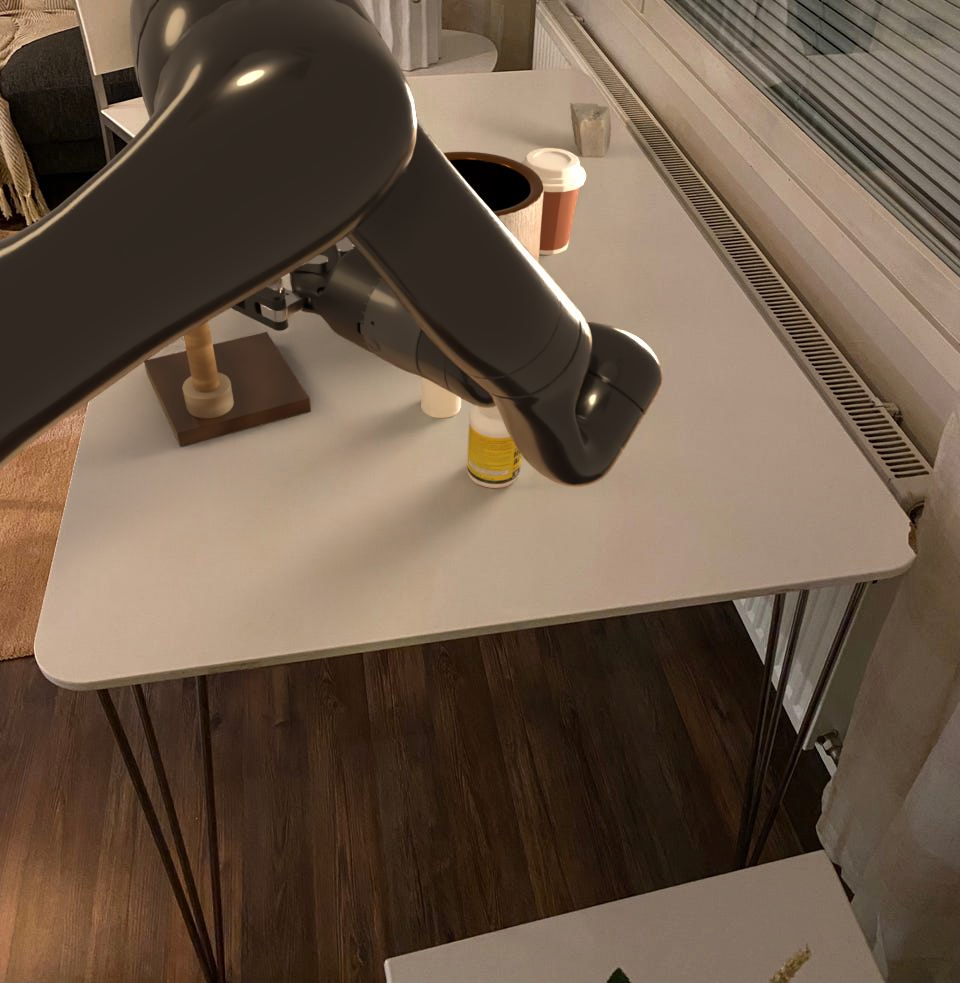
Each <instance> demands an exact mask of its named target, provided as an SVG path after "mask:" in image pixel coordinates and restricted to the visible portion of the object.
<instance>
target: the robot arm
mask: <svg viewBox="0 0 960 983" xmlns="http://www.w3.org/2000/svg"><path fill="white" fill-rule="evenodd" d="M128 32H129V33H128V34H129V35H128V36H129V44H130V45H129V46H130V50H131V56H132V63H133V67H134V74H135V78H136V81H137V85H138V88H139V90H140V93H141V96H142V100H143V103H144V106H145V109H146V112H147V114H148V118H149V119H148V120H147V121H146V122H145V125H144V126H143V127H142V128H141V129H140V130H139V131H138V132H137V134H135V136H133V138H132V139H131V140H130V141H129V142H128V143H127V144H126V146H125V147H123V148H122V149H121V151H119V152H118V153H117V154H116V155H115V156H114V157H113V158H112V159H111V160H110V161H109V162H108V163H107V164H106V165H105V166H103V168H102V169H100V170H99V171H98V172H97V173H95V174H94V175H93V176H92V177H91V178H90V179H89V180H87V181H85V183H84V184H83V185H81V186H80V187H79V188H78V189H77V190H75V191H74V192H73V193H71V195H70V196H69V197H67V198H66V199H65V200H63V202H61V203H60V204H59V205H58V206H57V207H55V208H54V209H52V210H51V211H50V212H48V213H46V214H45V215H44V216H43V217H41V218H40V219H38V220H37V221H35V222H34V223H32V224H30V225H28V226H27V227H25V228H23V229H21V230H19V231H17V232H16V233H14V234H12V235H9V236H6V237H4V238H1V239H0V471H1V470H2V469H3V468H5V467H6V465H8V464H9V463H10V462H12V461H13V460H14V459H15V458H16V457H17V456H18V455H20V453H22V452H23V451H25V449H26V448H28V447H29V446H30V445H31V444H33V443H34V442H35V441H37V440H38V439H40V437H42V436H43V435H44V434H45V433H47V432H48V431H49V430H51V429H52V428H54V427H55V426H56V425H58V424H59V423H60V422H62V421H63V420H65V419H66V418H68V417H69V416H71V415H72V414H73V413H75V412H76V411H78V410H79V409H80V408H82V407H83V406H85V405H86V404H88V403H89V402H90V401H92V400H93V399H94V398H96V397H97V396H99V395H100V394H102V393H103V392H104V391H106V390H107V389H109V388H110V387H112V386H113V385H114V384H115V383H117V382H118V381H120V380H121V379H122V378H124V377H125V376H127V375H128V374H129V373H131V372H132V371H133V370H135V369H136V368H138V367H139V366H140V365H142V364H144V362H145V361H146V360H149V359H151V358H152V357H153V356H155V355H156V354H158V353H159V352H160V351H162V350H163V349H166V348H167V347H169V346H170V345H172V344H173V343H174V342H177V341H178V340H179V339H181V338H183V336H184V335H186V334H187V333H189V332H191V331H192V330H194V329H196V328H197V327H199V326H201V325H202V324H204V323H206V322H207V321H209V322H210V321H211V320H212V319H215V318H216V317H217V316H219V315H221V314H223V313H224V312H226V311H228V310H229V309H232V310H234V311H236V312H237V313H239V314H242V315H243V316H246V317H247V318H250V319H252V320H254V321H256V322H258V323H260V324H262V325H264V326H266V327H268V328H269V329H271V330H274V331H277V332H279V331H280V332H282V331H285V330H287V329H288V328H289V319H288V318H289V317H291V316H293V315H295V314H296V313H298V312H300V311H301V312H304V313H309V314H314V315H318V316H320V317H321V318H322V319H323V320H324V321H325V323H326V324H327V326H328V327H329V328H330V329H331V330H332V331H333V333H335V334H336V335H338V336H340V337H341V338H343V339H344V340H347V341H348V342H350V343H352V344H353V345H355V346H358V347H359V348H361V349H363V350H365V351H367V352H369V353H370V354H372V355H374V356H376V357H378V358H379V359H382V360H384V361H385V362H387V363H389V364H391V365H392V366H394V367H395V368H397V369H400V370H402V371H404V372H407V373H409V374H413V375H415V376H417V377H420V378H421V377H423V378H425V379H427V380H429V381H431V382H433V383H435V384H437V385H439V386H440V387H442V388H444V389H446V390H448V391H449V392H451V393H453V394H455V395H456V396H458V397H460V398H461V400H464V401H465V402H468V403H470V404H472V405H473V406H475V405H476V406H479V407H484V408H492V407H495V406H497V408H498V410H499V413H500V415H501V417H502V420H503V422H504V424H505V427H506V429H507V431H508V433H509V435H510V437H511V439H512V441H513V442H514V444H515V446H516V447H517V449H518V450H519V452H520V453H521V455H522V457H523V458H524V460H525V461H526V462H527V463H528V465H530V466H531V467H532V468H533V469H534V470H535V471H536V472H538V473H539V474H540V475H541V476H543V477H544V478H546V479H548V480H549V481H551V482H553V483H556V484H558V485H561V486H565V487H570V488H583V487H588V486H591V485H593V484H596V483H598V482H600V481H601V480H603V479H604V478H605V477H606V476H608V474H609V473H610V472H611V471H612V470H613V469H614V467H615V465H616V464H617V462H618V461H619V459H620V457H621V456H622V454H623V452H624V450H625V449H626V448H627V445H628V444H629V442H630V440H632V438H633V436H634V434H635V433H636V431H637V429H638V428H639V426H640V425H641V422H642V421H643V419H644V418H645V416H646V415H647V413H648V411H649V410H650V408H651V407H652V406H653V403H654V402H655V400H656V398H657V396H658V395H659V393H660V390H661V389H662V385H663V380H664V376H663V368H662V366H661V363H660V360H659V358H658V356H657V355H656V353H655V352H654V350H653V349H652V348H651V346H649V345H648V344H647V343H646V342H645V341H644V340H643V339H641V338H640V337H639V336H637V335H635V334H633V333H631V332H630V331H627V330H625V329H622V328H619V327H618V326H617V327H616V326H614V325H610V324H605V323H599V322H594V321H589V320H586V318H585V317H584V315H583V314H582V312H581V311H580V310H579V308H578V307H577V306H576V305H575V303H574V302H573V301H572V300H571V299H570V298H569V296H568V295H567V294H566V293H565V292H564V290H563V289H562V288H561V287H560V285H559V284H558V283H557V282H556V281H555V279H554V278H553V277H552V276H551V275H550V274H549V272H547V270H546V269H545V267H543V266H542V264H540V262H538V261H537V260H536V259H535V258H534V257H533V256H532V254H531V253H530V252H529V251H528V250H527V249H526V248H525V247H524V245H523V244H522V243H521V242H520V241H519V240H518V239H517V238H516V237H515V235H514V234H513V233H512V232H511V231H510V230H509V229H508V228H507V227H506V225H505V224H504V223H503V222H502V221H501V220H500V219H499V218H498V217H497V216H496V214H495V213H494V212H493V211H492V210H491V209H490V208H489V207H488V206H487V204H486V203H485V202H484V201H483V200H482V199H481V198H480V197H479V195H478V194H477V193H476V192H475V191H474V190H473V189H472V187H471V186H470V185H469V184H468V183H467V182H466V181H465V179H464V178H463V177H462V176H461V175H460V173H459V172H458V171H457V170H456V168H455V167H454V166H453V165H452V164H451V162H450V161H449V160H448V159H447V157H446V156H445V155H444V154H443V153H444V152H443V150H441V148H440V147H439V146H438V144H437V143H436V141H434V139H433V138H432V136H431V135H430V134H429V133H428V131H427V130H426V128H425V127H424V126H423V124H422V123H421V121H420V120H419V119H418V113H417V105H416V102H415V99H414V95H413V93H412V90H411V87H410V85H409V82H408V80H407V78H406V76H405V74H404V71H403V70H402V68H401V66H400V65H399V62H398V61H397V60H396V58H395V57H394V55H393V53H392V51H391V49H390V47H389V46H388V45H387V42H386V41H385V39H383V37H382V35H381V33H380V31H379V29H378V27H377V26H376V25H375V23H374V21H373V20H372V17H371V16H370V15H369V13H368V11H367V10H366V8H365V7H364V5H363V3H362V1H361V0H131V2H130V7H129V31H128ZM288 274H289V282H290V287H291V289H287V288H285V287H284V286H283V280H282V279H283V278H284V277H286V276H287V275H288Z"/></svg>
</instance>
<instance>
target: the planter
mask: <svg viewBox="0 0 960 983" xmlns="http://www.w3.org/2000/svg"><path fill="white" fill-rule="evenodd" d="M443 154H444V155H445V156H446V157H447V159H448V160H449V161H450V162H451V164H452V165H453V166H454V167H455V168H456V170H457V171H458V172H459V173H460V175H461V176H462V177H463V178H464V179H465V181H466V182H467V183H468V184H469V185H470V186H471V187H472V189H473V190H474V191H475V192H476V193H477V194H478V195H479V197H480V198H481V199H482V200H483V201H484V202H485V203H486V204H487V206H488V207H489V208H490V209H491V210H492V211H493V212H494V213H495V214H496V216H497V217H498V218H499V219H500V220H501V221H502V222H503V223H504V224H505V225H506V227H507V228H508V229H509V230H510V231H511V232H512V233H513V234H514V235H515V237H516V238H517V239H518V240H519V241H520V242H521V243H522V244H523V245H524V247H525V248H526V249H527V250H528V251H529V252H530V253H531V254H532V256H533V257H534V258H535V259H536V260H537V261H538V262H539V260H540V254H539V247H540V232H541V219H542V206H543V193H544V186H543V182H542V180H541V178H540V177H539V175H538V174H537V173H536V172H535V171H533V170H532V169H531V168H529V167H528V166H526V165H524V164H522V162H520V161H517V160H515V159H512V158H509V157H506V156H502V155H498V154H495V153H487V152H478V151H447V152H446V151H445V152H443ZM539 263H540V262H539Z"/></svg>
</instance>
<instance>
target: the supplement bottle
mask: <svg viewBox="0 0 960 983" xmlns="http://www.w3.org/2000/svg"><path fill="white" fill-rule="evenodd" d="M522 457H523V456H522V455H521V453H520V452H519V450H518V449H517V447H516V446H515V444H514V442H513V441H512V439H511V437H510V435H509V433H508V431H507V429H506V427H505V424H504V422H503V420H502V417H501V415H500V413H499V410H498V408H497V406H495V407H492V408H484V407H479V406H476V405H473V406H472V408H471V410H470V412H469V415H468V435H467V455H466V472H467V475H468V477H469V478H470V479H471V481H473V482H474V483H476V484H477V485H479V486H481V487H485V488H490V489H491V488H492V489H498V488H504V487H505V488H506V487H508V486H511V485H512V484H513V483H515V482H516V481H517V480H518V479H519V476H520V474H521V467H522Z"/></svg>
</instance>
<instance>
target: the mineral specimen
mask: <svg viewBox="0 0 960 983" xmlns="http://www.w3.org/2000/svg"><path fill="white" fill-rule="evenodd" d="M569 108H570V114H571V116H570V119H571V126H572V130H573V131H572V133H573V138H574V139H573V141H574V144H575V146H576V147H577V149H578V151H579V153H580V155H581V157H583V158H595V157H598V158H603V157H604V156H605V155H606V154H607V152H608V150H609V147H610V143H611V135H612V134H611V132H612V121H611V119H612V118H611V111H610V108H609V107H608V106H605V105H603V106H601V105H600V106H599V105H598V104H597V103H586V102H585V103H582V102H581V103H580V102H575V103H571V102H570V107H569Z"/></svg>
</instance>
